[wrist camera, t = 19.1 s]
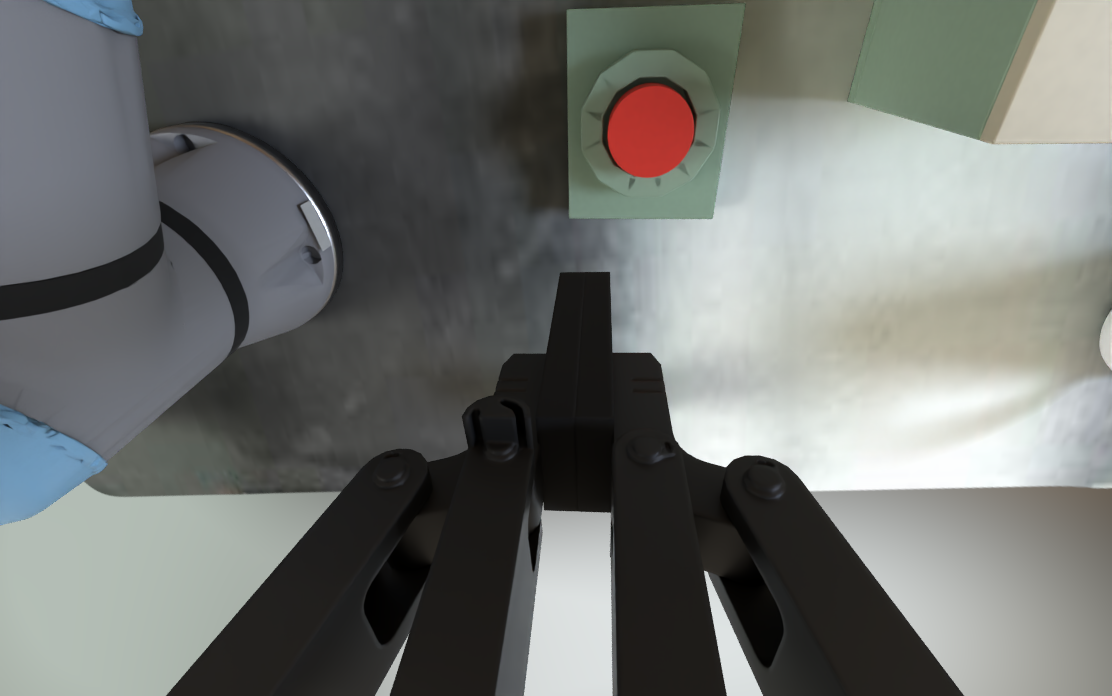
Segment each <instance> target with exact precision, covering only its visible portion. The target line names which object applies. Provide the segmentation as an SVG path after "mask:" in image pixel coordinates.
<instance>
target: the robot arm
mask: <svg viewBox="0 0 1112 696" xmlns="http://www.w3.org/2000/svg"><path fill="white" fill-rule="evenodd" d="M142 34H143V25H142V21H141V20H140V18H139V17H138V15H137V14H136V13H135V12H134V11H133V6H132V0H0V525H3V524H7V523H12V522H16V521H21V520H25V519H28V518H30V517H32V516H34V515H36V514H38V513H39V512H41V511H43V510H44V509H46V508H47V507H49V506H50V505H51V504H53V503H54V502H56V501H57V500H58V499H60V498H61V497H62V496H64V495H65V494H67V493H68V492H69V491H71V490H72V489H74V488H75V487H76V486H78V485H79V484H81V483H82V482H83V481H85V480H86V479H88V478H89V477H90V476H92V475H95V474H97V473H99V472H101V471H102V470H103V469H104V468H105V467H106V466H107V464H108V463H105V462H107V461H108V460H109V459H110V458H111V457H112V456H114V455H115V454H116V453H117V452H118V451H119V450H120V449H122V448H123V447H124V446H125V445H126V444H127V443H128V442H130V441H131V440H132V439H133V438H134V437H135V436H137V435H138V434H139V433H140V432H141V431H142V430H144V429H145V428H146V427H147V426H148V425H149V424H151V423H152V422H153V421H154V420H155V419H156V418H158V417H159V416H160V415H161V414H162V413H163V412H165V411H166V410H167V409H168V408H169V407H170V406H172V405H173V404H174V403H175V402H176V401H177V400H179V399H180V398H181V397H182V396H183V395H184V394H186V393H187V392H188V391H189V390H190V389H191V388H193V387H194V386H195V385H196V384H197V383H198V382H199V381H201V380H202V379H203V378H204V377H205V376H206V375H208V374H209V373H210V372H211V371H212V370H213V369H215V368H216V367H217V366H218V365H219V364H220V363H221V362H222V361H223V360H225V359H226V358H227V357H228V356H229V355H231V354H232V353H233V352H234V351H236V350H237V349H238V348H241V347H244V346H247V345H250V344H253V343H256V342H258V341H261V340H264V339H267V338H270V337H273V336H276V335H279V334H282V333H285V332H288V331H290V330H293V329H295V328H297V327H299V326H301V325H302V324H304V323H306V322H307V321H309V320H310V319H312V318H313V317H315V316H316V315H317V314H318V313H319V312H320V311H321V310H322V309H323V308H324V307H325V306H326V305H327V304H328V303H329V302H330V301H331V299H332V298H333V296H334V295H335V293H336V291H337V289H338V287H339V284H340V281H341V277H342V271H343V251H342V244H341V240H340V236H339V232H338V229H337V226H336V223H335V221H334V219H333V217H332V214H331V212H330V210H329V209H328V207H327V205H326V203H325V201H324V200H323V198H322V197H321V195H320V194H319V192H318V191H317V189H316V188H315V187H314V185H313V184H312V183H311V182H310V181H309V179H308V178H307V177H306V176H305V175H304V174H303V173H302V172H301V171H300V170H299V169H298V168H297V167H296V166H295V165H294V164H293V163H292V162H291V161H290V160H289V159H287V158H286V157H285V156H284V155H282V154H281V153H280V152H278V151H277V150H276V149H274V148H273V147H271V146H270V145H268V144H267V143H265V142H264V141H262V140H260V139H258V138H256V137H254V136H252V135H250V134H248V133H245V132H243V131H241V130H238V129H235V128H232V127H229V126H225V125H221V124H215V123H208V122H191V123H183V124H179V125H174V126H169V127H165V128H161V129H158V130H155V131H153V132H151V133H149V126H148V118H147V110H146V103H145V95H144V87H143V79H142V72H141V64H140V56H139V49H138V41H137V36H141V35H142ZM462 419H463V424H464V429H465V434H466V439H467V444H468V450H466V451H464V452H462V453H460V454H458V455H455V456H452V457H448V458H444V459H440V460H435V461H431V462H427V461H426V460H425V458H424V457H423V456H422V454H421V453H418V452H416V451H414V450H411V449H396V450H391V451H387V452H384V453H382V454H380V455H378V456H376V457H374V458H373V459H371V460H370V461H369V462H368V463H367V464H366V465H365V466H363V467H362V469H361V470H360V471H359V472H358V473H357V474H356V476H355V477H354V478H353V479H352V480H351V481H350V483H349V484H348V485H347V486H346V487H345V488H344V490H343V491H342V492H341V493H340V494H339V495H338V497H337V498H336V499H335V500H334V501H333V502H332V504H331V505H330V506H329V507H328V508H327V509H326V511H325V512H324V513H323V514H322V515H321V516H320V517H319V519H318V520H317V521H316V522H315V524H314V525H313V526H312V527H311V528H310V529H309V530H308V531H307V533H306V534H305V535H304V536H303V538H301V540H300V541H299V542H298V543H297V544H296V545H295V547H294V548H293V549H292V550H291V551H290V552H289V553H288V555H287V556H286V557H285V558H284V559H283V560H282V562H281V563H280V564H279V565H278V566H277V568H276V569H275V570H274V571H273V572H272V573H271V574H270V576H269V577H268V578H267V579H266V580H265V581H264V583H263V584H262V585H261V586H260V587H259V588H258V590H257V591H256V592H255V593H254V594H253V595H252V597H251V598H250V599H249V600H248V601H247V602H246V604H245V605H244V606H243V607H242V608H241V609H240V610H239V612H238V613H237V614H236V615H235V616H234V617H233V619H232V620H231V621H230V622H229V623H228V625H227V626H226V627H225V628H224V629H223V630H222V631H221V633H220V634H219V635H218V636H217V637H216V638H215V640H214V641H213V642H212V643H211V644H210V645H209V647H208V648H207V649H206V650H205V651H204V652H203V653H202V655H201V656H200V657H199V658H198V659H197V660H196V662H195V663H194V664H193V665H192V666H191V667H190V669H189V670H188V671H187V672H186V673H185V675H184V676H183V677H182V678H181V679H180V680H179V681H178V683H177V684H176V685H175V686H174V687H173V688H172V689H171V691H170V692H169V693H168V694H167V695H166V696H375V694H376V692H377V691H378V689H379V687H380V685H381V683H382V681H383V680H384V678H385V676H386V674H387V673H388V671H389V669H390V667H391V665H392V663H393V661H394V660H395V658H396V656H397V654H398V653H399V651H400V649H401V647H402V645H403V644H404V642H405V640H406V638H407V636H408V634H409V636H408V640H407V643H406V646H405V649H404V653H403V655H402V659H401V662H400V665H399V668H398V671H397V674H396V677H395V681H394V684H393V687H392V690H391V693H390V696H524V689H525V680H526V671H527V663H528V654H529V645H530V637H531V627H532V619H533V611H534V602H535V594H536V585H537V576H538V568H539V559H540V550H541V541H542V523H541V512H542V506H543V503H544V510H553V511H581V512H610V513H611V544H610V545H611V546H610V547H611V548H610V557H611V595H612V596H611V600H612V678H613V696H727V695H726V689H725V684H724V678H723V673H722V667H721V662H720V657H719V651H718V646H717V640H716V635H715V629H714V624H713V619H712V613H711V608H710V602H709V596H708V591H707V586H706V581H705V575H704V571H707V572H708V574H709V577H710V579H711V581H712V583H713V586H714V588H715V590H716V592H717V594H718V596H719V599H720V601H721V603H722V606H723V608H724V610H725V612H726V614H727V617H728V619H729V621H730V623H731V625H732V628H733V630H734V632H735V634H736V636H737V639H738V640H739V643H740V645H741V648H742V650H743V652H744V654H745V656H746V659H747V661H748V663H749V665H750V667H751V669H752V672H753V674H754V676H755V679H756V681H757V683H758V685H759V687H760V689H761V692H762V694H763V696H964V695H963V694H962V692H961V691H960V690H959V688H958V687H957V686H956V685H955V683H954V682H953V681H952V679H951V678H950V677H949V675H948V674H947V673H946V671H945V670H944V669H943V667H942V666H941V665H940V663H939V662H938V661H937V659H936V658H935V657H934V655H933V654H932V653H931V651H930V650H929V649H928V647H927V646H926V645H925V644H924V642H923V641H922V640H921V638H920V637H919V636H918V634H917V633H916V632H915V630H914V629H913V628H912V626H911V625H910V624H909V622H908V621H907V620H906V618H905V617H904V616H903V614H902V613H901V612H900V610H899V609H898V608H897V606H896V605H895V604H894V603H893V601H892V600H891V599H890V598H889V596H888V595H887V593H886V592H885V591H884V589H883V588H882V587H881V585H880V584H879V583H878V581H877V580H876V579H875V577H874V576H873V575H872V574H871V572H870V571H869V569H868V568H867V567H866V566H865V564H864V563H863V562H862V560H861V559H860V558H859V556H858V555H857V554H856V553H855V551H854V550H853V548H852V547H851V546H850V544H849V543H848V542H847V540H846V539H845V538H844V536H843V535H842V534H841V533H840V531H839V530H838V529H837V527H836V526H835V525H834V523H833V522H832V521H831V519H830V518H829V517H828V515H827V514H826V513H825V511H824V510H823V509H822V507H821V506H820V505H819V503H818V502H817V501H816V499H815V498H814V497H813V496H812V494H811V493H810V492H809V490H808V489H807V488H806V486H805V485H804V484H803V482H802V481H801V480H800V478H799V477H798V476H797V475H796V474H795V473H794V472H793V471H792V470H791V469H790V468H789V467H787V466H786V465H784V464H782V463H780V462H778V461H776V460H774V459H771V458H767V457H763V456H743V457H740V458H737V459H734V460H733V461H732V462H731V463H730V464H729V465H728V466H727V467H726V468H725V467H722V466H718V465H714V464H711V463H707V462H704V461H702V460H699V459H696V458H695V457H693V456H691V455H689V454H688V453H686V452H685V451H684V450H683V449H682V448H681V447H680V446H679V444H678V442H677V441H675V438H674V435H673V431H672V426H671V420H670V414H669V408H668V403H667V397H666V392H665V385H664V381H663V374H662V368H661V364H660V363H659V362H658V361H657V360H656V359H655V357H654V356H653V355H652V354H651V353H612V326H611V293H610V272H565V273H560V277H559V283H558V289H557V294H556V300H555V306H554V312H553V318H552V323H551V329H550V335H549V341H548V346H547V352H546V354H513V355H512V356H511V357H510V358H509V359H508V360H507V361H506V362H505V363H504V364H503V366H502V369H501V372H500V376H499V381H498V383H497V386H496V392H495V393H494V396H488V397H485V398H482V399H480V400H477V401H476V402H474V403H473V404H472V405H470V406H469V407H467V409H466V411H465V412H464V414H463V415H462Z"/></svg>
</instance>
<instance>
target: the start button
mask: <svg viewBox="0 0 1112 696" xmlns="http://www.w3.org/2000/svg"><path fill="white" fill-rule="evenodd" d="M693 136H694V120H693V115H692V112H691V109H690V107H689V105H688V104H687V102H686V101H685V99H684V98H683V97H682V96H681V95H680V94H679V93H677V92H676V91H675V90H674V89H672V88H671V87H669V86H667V85H664V84H660V83H644V84H640V85H638V86H635V87H633V88H631V89H630V90H628V91H627V92H626V93H624V94H623V95H622V96H621V97H620V99H619V100H618V101H617V102H616V104H615V106H614V107H613V109H612V111H611V114H610V117H609V121H608V132H607V137H608V146H609V149H610V152H611V155H612V157H613V159H614V160H615V162H616V163H617V164H618V165H619V166H620V167H621V168H622V169H623V170H624V171H626V172H627V173H629V174H631V175H634V176H637V177H642V178H652V177H657V176H660V175H663V174H665V173H667V172H669V171H671V170H672V169H674V168H675V167H676V166H677V165H678V164H679V163H680V162H681V161H682V160H683V159H684V157H685V156H686V154H687V153H688V151H689V149H690V146H691V144H692V140H693Z"/></svg>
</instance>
